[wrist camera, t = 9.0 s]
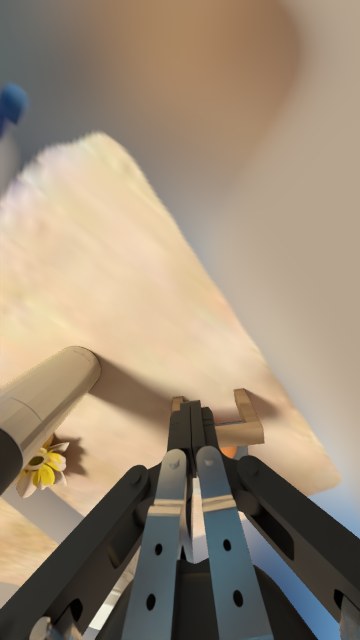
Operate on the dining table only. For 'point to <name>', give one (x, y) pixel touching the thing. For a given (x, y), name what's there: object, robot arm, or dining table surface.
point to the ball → (229, 451)
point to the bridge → (236, 433)
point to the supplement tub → (115, 593)
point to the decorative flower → (42, 469)
